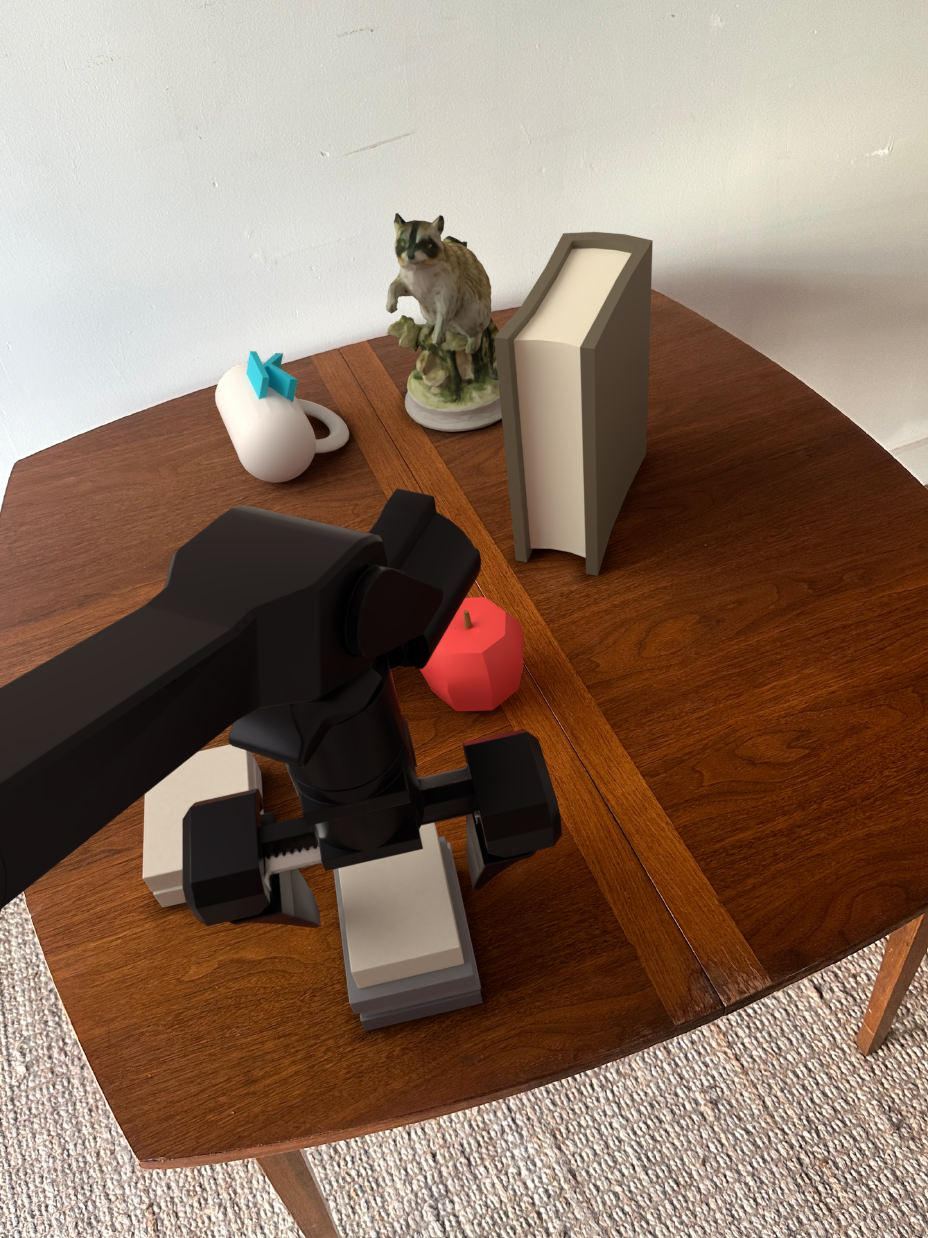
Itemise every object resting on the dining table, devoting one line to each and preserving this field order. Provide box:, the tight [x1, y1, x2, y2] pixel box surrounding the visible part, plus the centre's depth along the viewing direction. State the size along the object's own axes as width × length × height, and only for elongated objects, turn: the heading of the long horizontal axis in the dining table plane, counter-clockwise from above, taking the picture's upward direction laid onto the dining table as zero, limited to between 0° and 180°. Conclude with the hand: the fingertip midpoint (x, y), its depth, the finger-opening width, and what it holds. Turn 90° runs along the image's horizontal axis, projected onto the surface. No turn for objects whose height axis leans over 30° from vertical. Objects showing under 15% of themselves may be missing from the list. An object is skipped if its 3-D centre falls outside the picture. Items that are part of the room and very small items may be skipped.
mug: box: [214, 350, 350, 483], centre depth 95 cm, size 12×9×12 cm
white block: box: [338, 822, 464, 989], centre depth 58 cm, size 8×6×2 cm
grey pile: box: [333, 835, 484, 1032], centre depth 61 cm, size 9×7×4 cm
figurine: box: [385, 212, 502, 433], centre depth 93 cm, size 12×14×20 cm
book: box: [494, 231, 654, 577], centre depth 80 cm, size 16×7×21 cm, turn 159°
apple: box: [419, 596, 525, 712], centre depth 73 cm, size 8×8×8 cm
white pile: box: [142, 744, 265, 908], centre depth 68 cm, size 9×7×4 cm
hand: (396, 901), depth 58 cm, fingers open, 9 cm apart
